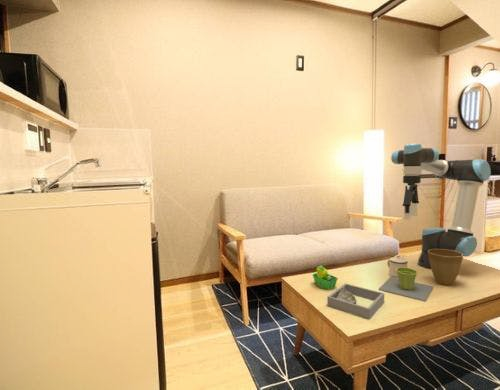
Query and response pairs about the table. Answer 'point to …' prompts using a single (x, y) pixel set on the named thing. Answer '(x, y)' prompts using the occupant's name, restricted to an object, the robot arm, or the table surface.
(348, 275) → the table surface
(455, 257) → the plant pot
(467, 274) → the table surface
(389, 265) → the teacup with lid
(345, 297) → the rock sample
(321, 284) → the fruit basket
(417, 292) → the charcoal mat
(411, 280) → the plant pot
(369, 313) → the rock display frame
